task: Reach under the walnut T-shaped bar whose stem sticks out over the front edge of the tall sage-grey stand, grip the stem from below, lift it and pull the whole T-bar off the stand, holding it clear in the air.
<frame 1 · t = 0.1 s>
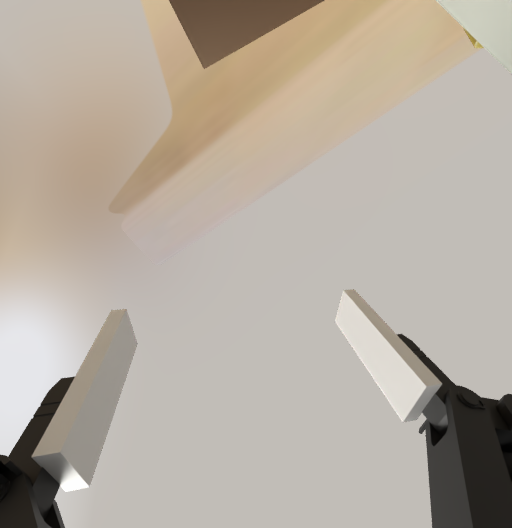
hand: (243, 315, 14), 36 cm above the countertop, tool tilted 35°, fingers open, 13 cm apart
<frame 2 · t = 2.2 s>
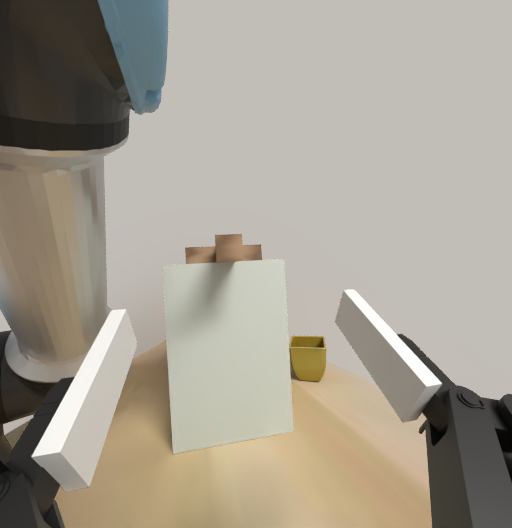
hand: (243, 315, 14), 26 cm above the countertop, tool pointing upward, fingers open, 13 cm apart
flower pot: (309, 377, 58), on the countertop
stand: (233, 421, 43), on the countertop
T-bar: (227, 261, 33), point 30 cm above the countertop, touching stand
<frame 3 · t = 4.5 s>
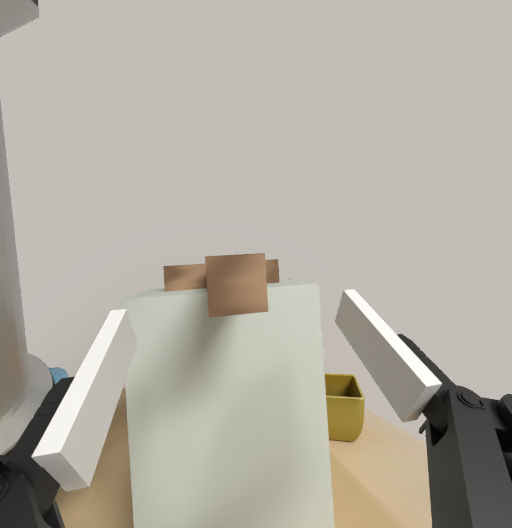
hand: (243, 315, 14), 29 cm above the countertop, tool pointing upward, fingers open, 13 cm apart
flower pot: (338, 432, 43), on the countertop
T-bar: (230, 297, 18), point 30 cm above the countertop, touching stand
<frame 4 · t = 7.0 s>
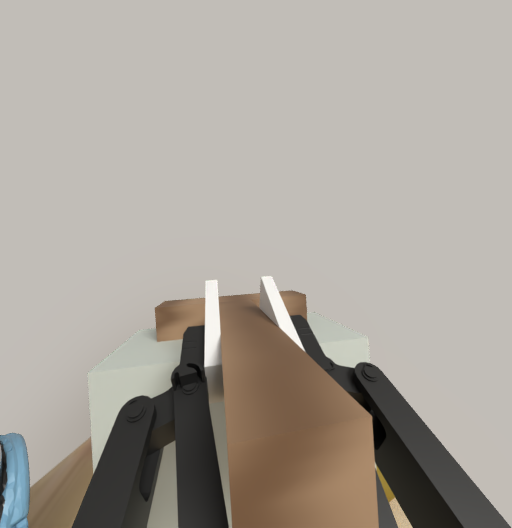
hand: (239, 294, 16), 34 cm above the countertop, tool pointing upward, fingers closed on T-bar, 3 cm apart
T-bar: (254, 390, 11), point 30 cm above the countertop, touching gripper, stand
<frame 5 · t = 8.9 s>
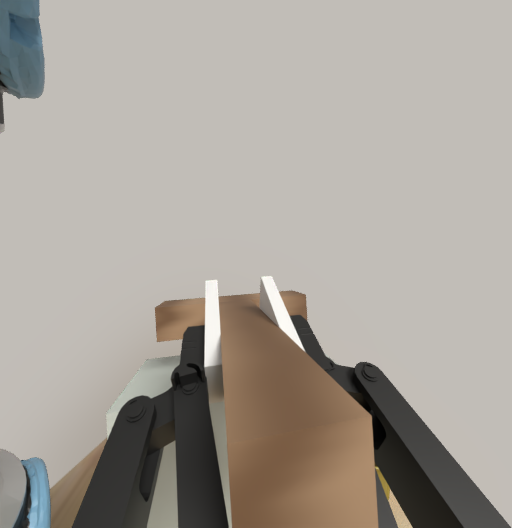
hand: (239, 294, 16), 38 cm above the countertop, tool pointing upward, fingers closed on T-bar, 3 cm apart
T-bar: (254, 390, 11), point 34 cm above the countertop, touching gripper
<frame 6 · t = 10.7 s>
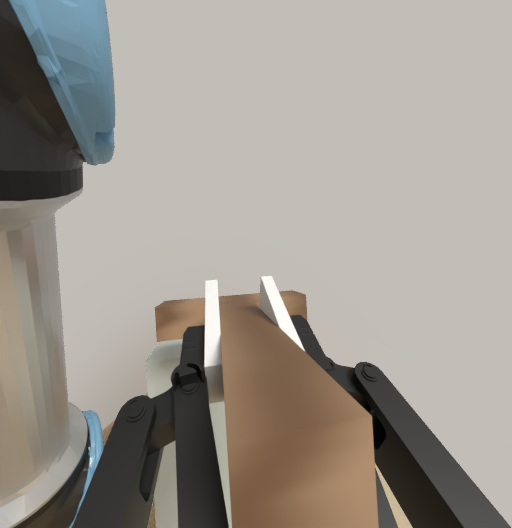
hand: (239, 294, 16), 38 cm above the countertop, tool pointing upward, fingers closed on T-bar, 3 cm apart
T-bar: (254, 390, 11), point 34 cm above the countertop, touching gripper
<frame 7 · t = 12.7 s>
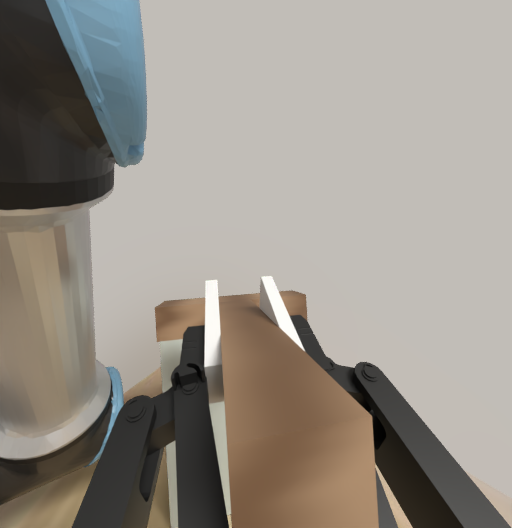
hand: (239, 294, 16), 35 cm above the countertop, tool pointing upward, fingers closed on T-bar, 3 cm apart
stand: (237, 480, 39), on the countertop
T-bar: (254, 390, 11), point 30 cm above the countertop, touching gripper
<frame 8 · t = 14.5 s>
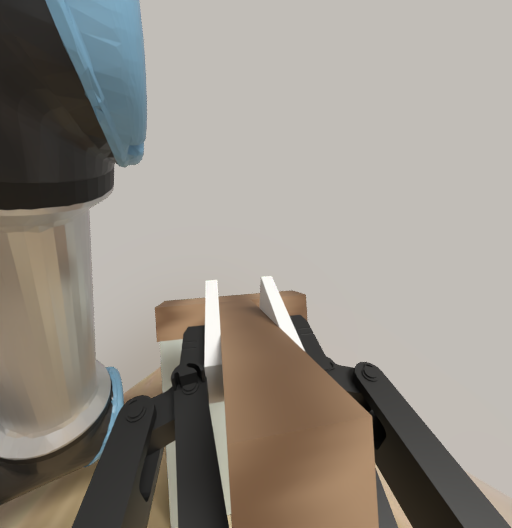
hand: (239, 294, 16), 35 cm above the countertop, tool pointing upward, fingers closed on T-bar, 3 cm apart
stand: (237, 480, 39), on the countertop
T-bar: (254, 390, 11), point 30 cm above the countertop, touching gripper
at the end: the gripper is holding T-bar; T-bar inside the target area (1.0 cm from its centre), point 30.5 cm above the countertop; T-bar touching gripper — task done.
